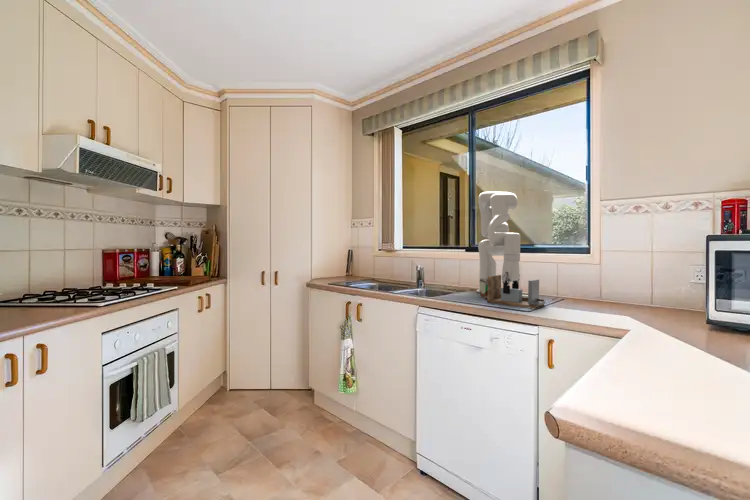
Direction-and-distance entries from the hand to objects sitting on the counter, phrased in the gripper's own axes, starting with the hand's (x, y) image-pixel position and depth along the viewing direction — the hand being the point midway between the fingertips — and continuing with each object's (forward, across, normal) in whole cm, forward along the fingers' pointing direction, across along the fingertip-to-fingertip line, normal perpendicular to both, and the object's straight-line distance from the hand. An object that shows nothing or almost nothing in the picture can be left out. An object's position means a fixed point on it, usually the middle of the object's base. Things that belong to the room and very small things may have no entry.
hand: (510, 292), depth 173 cm
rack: (+5, 0, +2) cm, 6 cm away
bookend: (+4, 0, +13) cm, 13 cm away
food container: (+6, -6, -16) cm, 18 cm away
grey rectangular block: (+4, 0, 0) cm, 4 cm away
